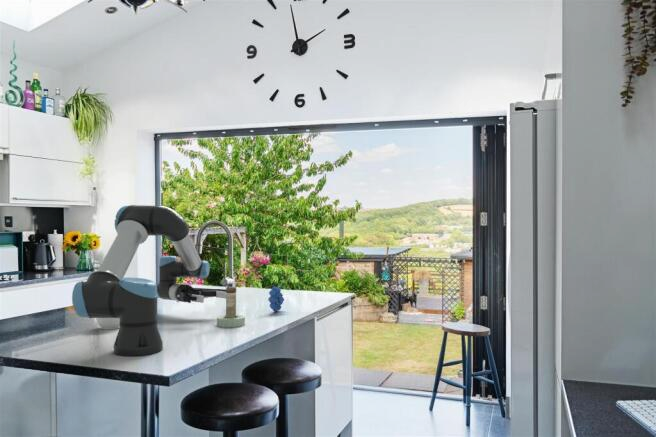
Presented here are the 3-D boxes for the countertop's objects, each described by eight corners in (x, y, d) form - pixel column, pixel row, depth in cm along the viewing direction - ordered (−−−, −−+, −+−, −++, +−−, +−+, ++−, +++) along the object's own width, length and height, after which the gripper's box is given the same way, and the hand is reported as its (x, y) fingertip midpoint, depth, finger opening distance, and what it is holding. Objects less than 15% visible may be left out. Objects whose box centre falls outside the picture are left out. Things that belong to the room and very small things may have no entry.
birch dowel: (233, 325, 220) (233, 288, 220) (224, 325, 221) (224, 287, 221) (237, 323, 224) (237, 287, 224) (228, 323, 225) (228, 286, 225)
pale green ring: (237, 327, 215) (237, 320, 215) (212, 326, 218) (212, 318, 218) (249, 322, 226) (249, 315, 226) (224, 321, 229) (224, 313, 229)
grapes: (278, 314, 244) (278, 287, 244) (265, 313, 247) (265, 287, 247) (289, 310, 255) (289, 284, 255) (276, 309, 258) (276, 284, 258)
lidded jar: (114, 331, 208) (114, 306, 208) (89, 330, 210) (89, 305, 210) (130, 325, 218) (130, 302, 218) (106, 324, 221) (106, 301, 220)
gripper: (203, 298, 250) (237, 302, 238) (158, 305, 230) (191, 310, 217) (203, 281, 250) (237, 285, 238) (158, 287, 230) (192, 291, 217)
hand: (215, 297), depth 227 cm, fingers open, 13 cm apart
